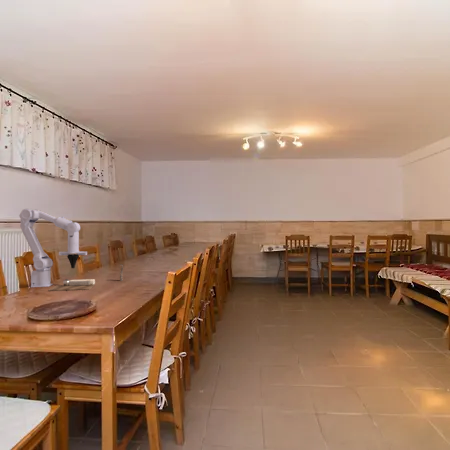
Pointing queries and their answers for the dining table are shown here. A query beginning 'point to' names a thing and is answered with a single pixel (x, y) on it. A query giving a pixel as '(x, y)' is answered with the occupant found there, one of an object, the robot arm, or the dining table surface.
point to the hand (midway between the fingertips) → (73, 268)
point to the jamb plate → (71, 287)
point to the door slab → (92, 281)
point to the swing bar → (76, 282)
